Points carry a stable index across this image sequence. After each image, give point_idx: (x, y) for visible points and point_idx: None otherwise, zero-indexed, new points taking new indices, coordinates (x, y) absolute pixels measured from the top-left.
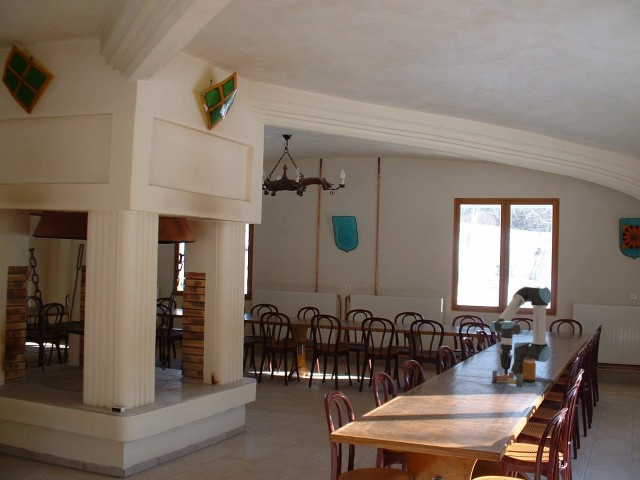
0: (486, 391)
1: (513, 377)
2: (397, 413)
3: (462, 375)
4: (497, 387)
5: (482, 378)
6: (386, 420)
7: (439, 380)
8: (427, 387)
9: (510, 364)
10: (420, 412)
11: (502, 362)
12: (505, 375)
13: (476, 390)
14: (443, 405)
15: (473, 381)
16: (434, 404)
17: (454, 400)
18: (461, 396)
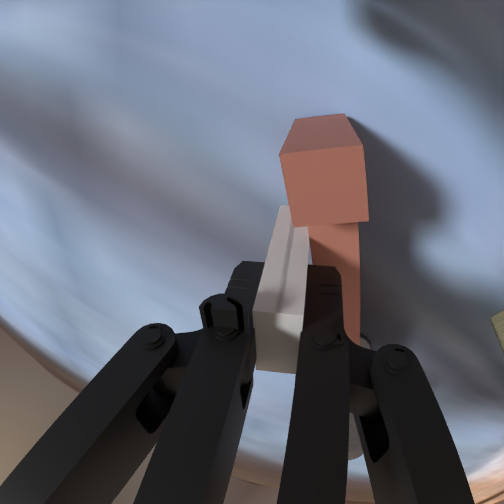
0: (496, 438)
1: (350, 126)
2: (482, 499)
3: (71, 353)
4: (484, 393)
5: (133, 320)
6: (492, 499)
7: (238, 467)
8: (353, 497)
9: (454, 455)
10: (498, 491)
11: (138, 454)
12: (344, 293)
13: (463, 454)
14: (499, 483)
15: (268, 417)
16: (486, 489)
17: (493, 478)
18: (482, 473)
